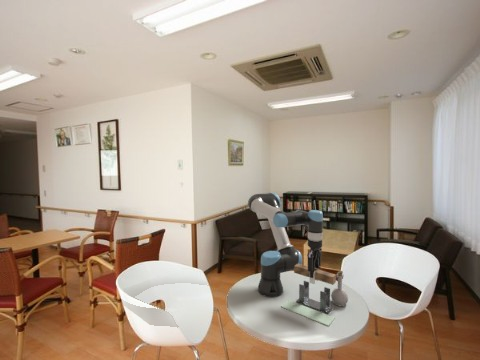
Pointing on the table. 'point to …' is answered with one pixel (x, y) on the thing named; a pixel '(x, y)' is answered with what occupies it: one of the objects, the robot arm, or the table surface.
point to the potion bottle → (339, 292)
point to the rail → (319, 274)
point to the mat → (308, 312)
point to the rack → (320, 306)
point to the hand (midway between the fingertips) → (314, 281)
